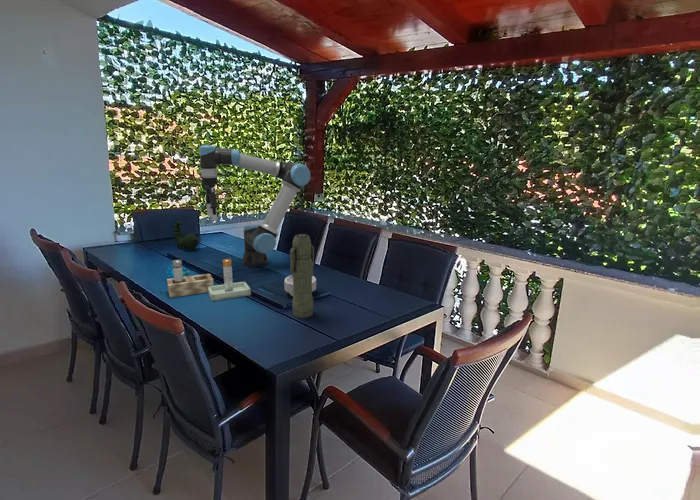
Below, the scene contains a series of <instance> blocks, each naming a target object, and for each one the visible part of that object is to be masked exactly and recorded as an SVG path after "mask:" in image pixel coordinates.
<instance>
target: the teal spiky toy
mask: <svg viewBox="0 0 700 500" xmlns="http://www.w3.org/2000/svg"><path fill="white" fill-rule="evenodd" d="M171 268H172V269H171ZM186 269H187V268H186V267H184V266H183V265H182V270H183V277H187V276H188V274H190V271H189V270H186ZM166 275H167V279H171V278H174V272H173V264H171V265H170V266H169V267H167V271H166Z"/></svg>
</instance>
